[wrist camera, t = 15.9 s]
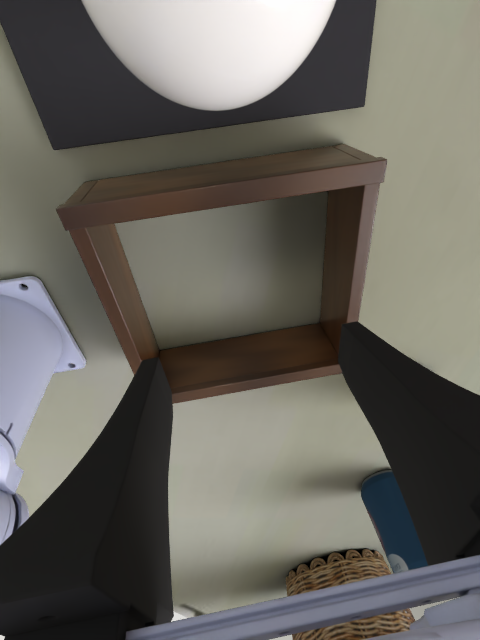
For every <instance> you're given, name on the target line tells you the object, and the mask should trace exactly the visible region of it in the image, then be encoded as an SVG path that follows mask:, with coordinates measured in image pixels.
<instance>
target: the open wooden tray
mask: <svg viewBox="0 0 480 640" xmlns="http://www.w3.org/2000/svg"><path fill="white" fill-rule="evenodd" d="M386 165H387V159H385V158H382V157H377V158H376V157H374V156H371V155H369V154H367V153H364V152H362V151H360V150H357V149H355V148H353V147H350V146H348V145H345V144H341V145H334V146H327V147H320V148H313V149H306V150H300V151H293V152H286V153H279V154H272V155H265V156H259V157H252V158H245V159H238V160H231V161H224V162H217V163H211V164H204V165H197V166H190V167H183V168H176V169H169V170H163V171H156V172H149V173H142V174H135V175H128V176H122V177H115V178H108V179H101V180H99V181H98V180H95V181H88V182H84V183H83V184H82V185H81V186H80V187H79V188H78V190H77V191H76V192H75V193H74V194H73V195H72V196H71V197H70V198H69V199H68V200H67V201H66V202H65V204H61V205H59V206H58V207H57V208H56V211H57V213H58V215H59V217H60V219H61V221H62V224H63V226H64V228H65V230H66V231H68V230H69V232H70V234H71V236H72V238H73V241H74V243H75V245H76V247H77V250H78V252H79V254H80V256H81V258H82V261H83V263H84V265H85V267H86V269H87V272H88V274H89V276H90V278H91V280H92V283H93V285H94V287H95V289H96V291H97V294H98V296H99V298H100V300H101V303H102V305H103V307H104V309H105V311H106V314H107V316H108V318H109V320H110V322H111V325H112V327H113V329H114V331H115V333H116V336H117V338H118V340H119V342H120V344H121V347H122V349H123V351H124V353H125V356H126V358H127V360H128V362H129V364H130V367H131V369H132V371H133V373H134V375H135V373H136V371H137V369H138V367H139V365H140V363H141V362H142V361H143V360H146V359H151V358H157V357H159V359H160V362H161V365H162V367H163V370H164V372H165V375H166V378H167V380H168V383H169V386H170V388H171V391H172V404H174V403H179V402H185V401H191V400H196V399H202V398H207V397H213V396H218V395H224V394H229V393H235V392H240V391H246V390H251V389H257V388H262V387H268V386H274V385H279V384H285V383H290V382H296V381H301V380H307V379H312V378H318V377H323V376H329V375H334V374H340V373H342V371H341V368H340V365H339V363H338V354H339V344H340V335H341V326H342V324H345V323H350V322H356V321H357V322H358V320H359V313H360V307H361V301H362V294H363V288H364V282H365V275H366V269H367V263H368V256H369V250H370V244H371V237H372V231H373V225H374V218H375V212H376V206H377V199H378V193H379V187H380V183H382V182H384V177H385V171H386ZM324 191H328V207H327V222H326V238H325V253H324V269H323V284H322V300H321V316H320V323H317V324H311V325H305V326H299V327H293V328H288V329H282V330H276V331H270V332H265V333H259V334H253V335H247V336H241V337H236V338H230V339H224V340H218V341H212V342H207V343H201V344H195V345H189V346H183V347H178V348H172V349H166V350H160V351H159V348H158V346H157V343H156V340H155V337H154V334H153V332H152V329H151V326H150V323H149V320H148V318H147V315H146V312H145V309H144V306H143V304H142V301H141V298H140V295H139V292H138V290H137V287H136V284H135V281H134V278H133V276H132V273H131V270H130V267H129V264H128V262H127V259H126V256H125V253H124V250H123V248H122V245H121V242H120V239H119V236H118V234H117V231H116V228H115V225H114V223H121V222H127V221H134V220H140V219H147V218H154V217H160V216H167V215H173V214H180V213H186V212H193V211H199V210H206V209H212V208H219V207H226V206H232V205H239V204H245V203H252V202H258V201H265V200H271V199H278V198H284V197H291V196H298V195H304V194H311V193H317V192H324Z"/></svg>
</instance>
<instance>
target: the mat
mask: <svg viewBox="0 0 480 640" xmlns="http://www.w3.org/2000/svg"><path fill="white" fill-rule="evenodd" d="M375 8H376V0H336V3H335V6H334V8H333V11H332V13H331V15H330V18H329V20H328V22H327V24H326V26H325V28H324V30H323V32H322V34H321V36H320V38H319V39H318V41H317V43H316V44H315V46H314V48H313V49H312V51H311V52H310V53H309V55H308V56H307V58H306V59H305V60H304V62H303V63H302V64H301V65H300V67H299V68H298V69H297V70H296V71H295V72H294V73H293V74H292V76H291V77H290V78H288V79H287V80H286V81H285V82H284V83H283V84H282V85H281V86H280V87H278V88H277V89H276V90H274V91H273V92H272V93H270V94H269V95H267V96H265V97H264V98H262V99H260V100H258V101H256V102H254V103H252V104H249V105H246V106H243V107H240V108H236V109H231V110H223V111H207V110H199V109H194V108H190V107H186V106H183V105H180V104H178V103H175V102H173V101H171V100H169V99H167V98H165V97H163V96H161V95H159V94H158V93H156V92H155V91H153V90H152V89H150V88H149V87H148V86H146V85H145V84H144V83H142V82H141V81H140V80H139V79H138V78H137V77H135V76H134V75H133V74H132V73H131V72H130V71H129V70H128V69H127V68H126V67H125V66H124V65H123V64H122V63H121V61H120V60H119V59H118V58H117V57H116V56H115V54H114V53H113V52H112V51H111V49H110V48H109V47H108V45H107V44H106V42H105V41H104V40H103V38H102V37H101V35H100V34H99V32H98V30H97V29H96V27H95V25H94V24H93V22H92V20H91V19H90V17H89V15H88V13H87V11H86V9H85V7H84V5H83V3H82V1H81V0H0V22H1V25H2V27H3V30H4V32H5V35H6V37H7V39H8V42H9V44H10V47H11V49H12V51H13V54H14V56H15V59H16V61H17V63H18V66H19V68H20V71H21V73H22V75H23V78H24V80H25V83H26V85H27V87H28V90H29V92H30V95H31V97H32V99H33V102H34V104H35V107H36V109H37V111H38V114H39V116H40V119H41V121H42V123H43V126H44V128H45V131H46V133H47V135H48V138H49V140H50V143H51V145H52V147H53V149H54V150H60V149H67V148H74V147H81V146H88V145H95V144H103V143H110V142H117V141H124V140H131V139H138V138H145V137H152V136H159V135H166V134H174V133H181V132H188V131H195V130H202V129H209V128H216V127H223V126H230V125H238V124H245V123H252V122H259V121H266V120H273V119H280V118H287V117H294V116H301V115H309V114H316V113H323V112H330V111H337V110H344V109H351V108H358V107H364V105H365V97H366V88H367V79H368V70H369V61H370V53H371V44H372V35H373V26H374V17H375Z"/></svg>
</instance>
